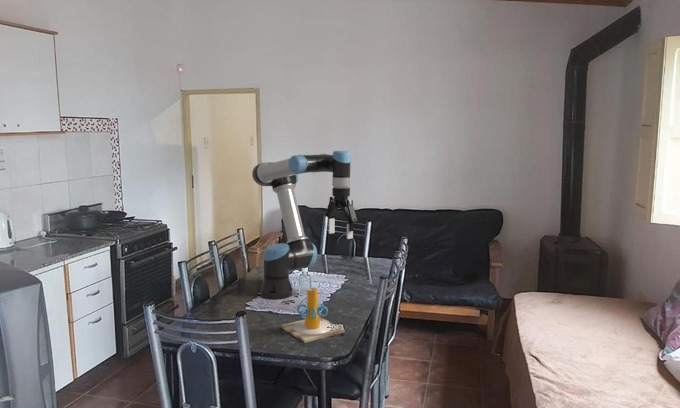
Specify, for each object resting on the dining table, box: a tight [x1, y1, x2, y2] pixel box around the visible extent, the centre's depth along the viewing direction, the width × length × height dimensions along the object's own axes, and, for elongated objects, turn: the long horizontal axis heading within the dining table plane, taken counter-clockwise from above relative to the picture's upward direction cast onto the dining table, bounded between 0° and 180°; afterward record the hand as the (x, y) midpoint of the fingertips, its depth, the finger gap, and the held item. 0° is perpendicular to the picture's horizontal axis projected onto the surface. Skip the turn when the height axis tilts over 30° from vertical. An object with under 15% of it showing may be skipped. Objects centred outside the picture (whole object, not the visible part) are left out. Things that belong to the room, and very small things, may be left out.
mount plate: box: [280, 316, 346, 344], centre depth 206 cm, size 18×18×1 cm
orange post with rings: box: [296, 287, 329, 329], centre depth 205 cm, size 12×10×15 cm
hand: (340, 235), depth 230 cm, fingers open, 13 cm apart
